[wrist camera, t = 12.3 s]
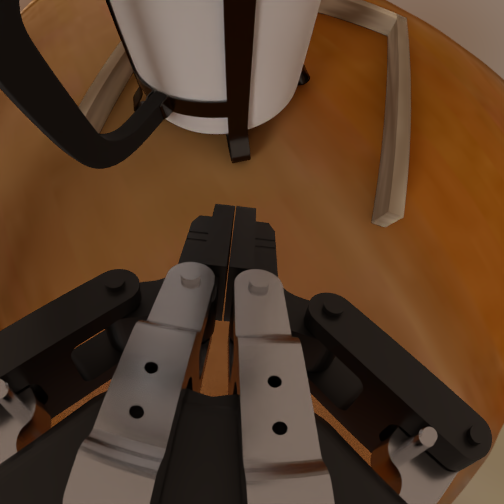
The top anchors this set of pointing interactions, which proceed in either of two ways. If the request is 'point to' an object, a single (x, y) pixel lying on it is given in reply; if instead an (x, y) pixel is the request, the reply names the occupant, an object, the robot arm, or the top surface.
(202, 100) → the coffee press
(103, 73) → the birch stand
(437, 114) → the top surface
